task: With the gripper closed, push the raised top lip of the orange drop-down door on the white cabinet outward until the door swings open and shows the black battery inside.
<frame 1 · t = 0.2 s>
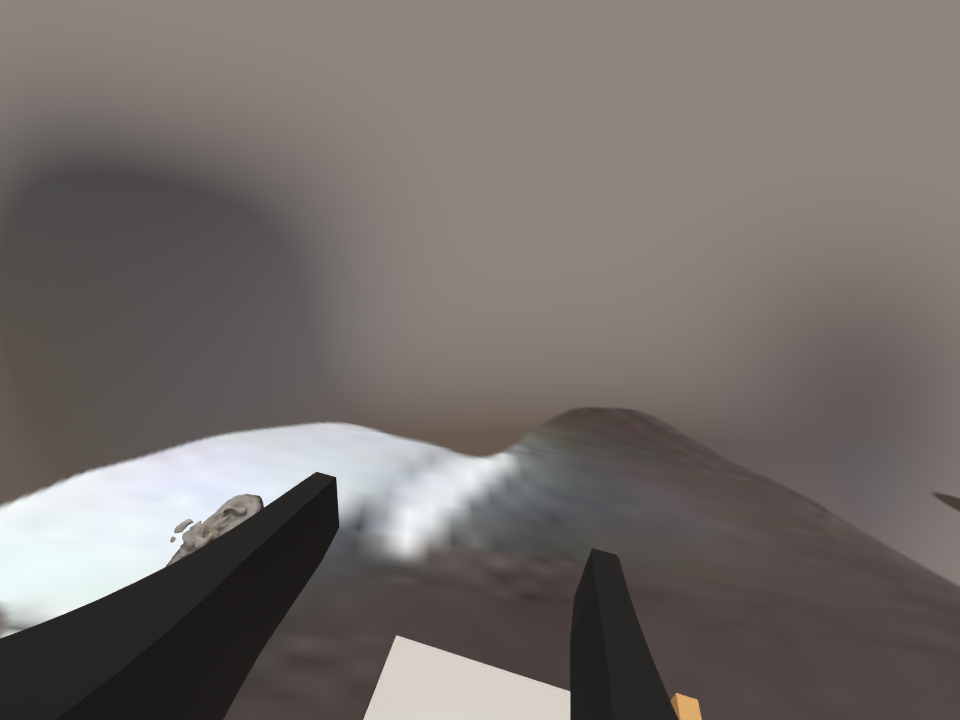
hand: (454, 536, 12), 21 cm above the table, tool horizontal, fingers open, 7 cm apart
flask: (225, 646, 28), on the table
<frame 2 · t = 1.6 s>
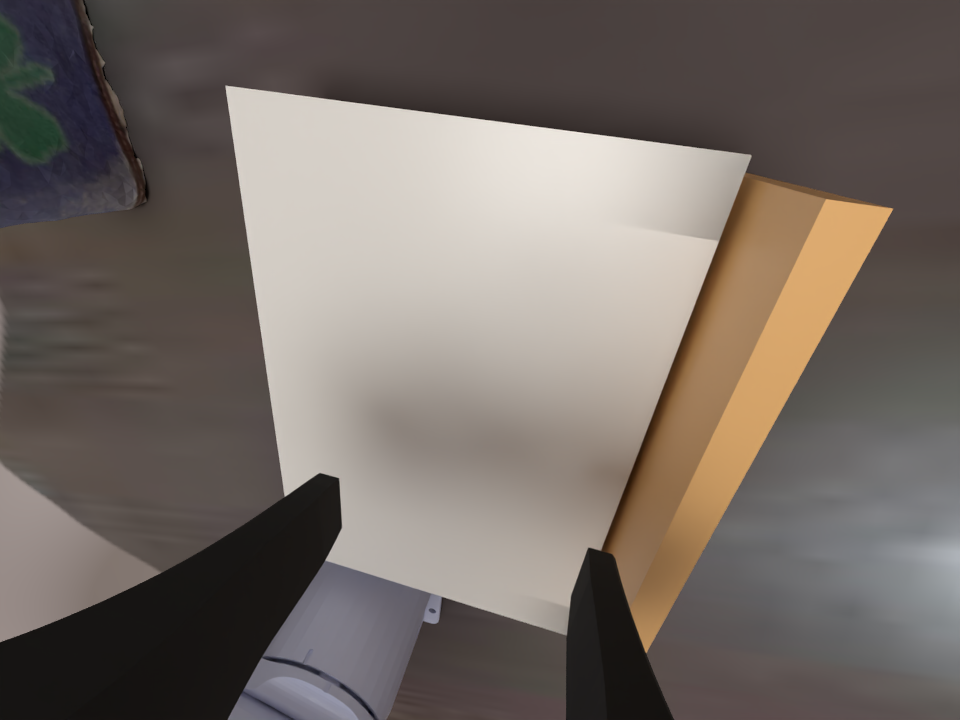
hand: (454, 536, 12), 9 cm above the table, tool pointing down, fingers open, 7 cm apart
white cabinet: (471, 364, 20), on the table
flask: (98, 95, 19), on the table
door: (652, 471, 15), point 5 cm above the table, hinge at 0.0°
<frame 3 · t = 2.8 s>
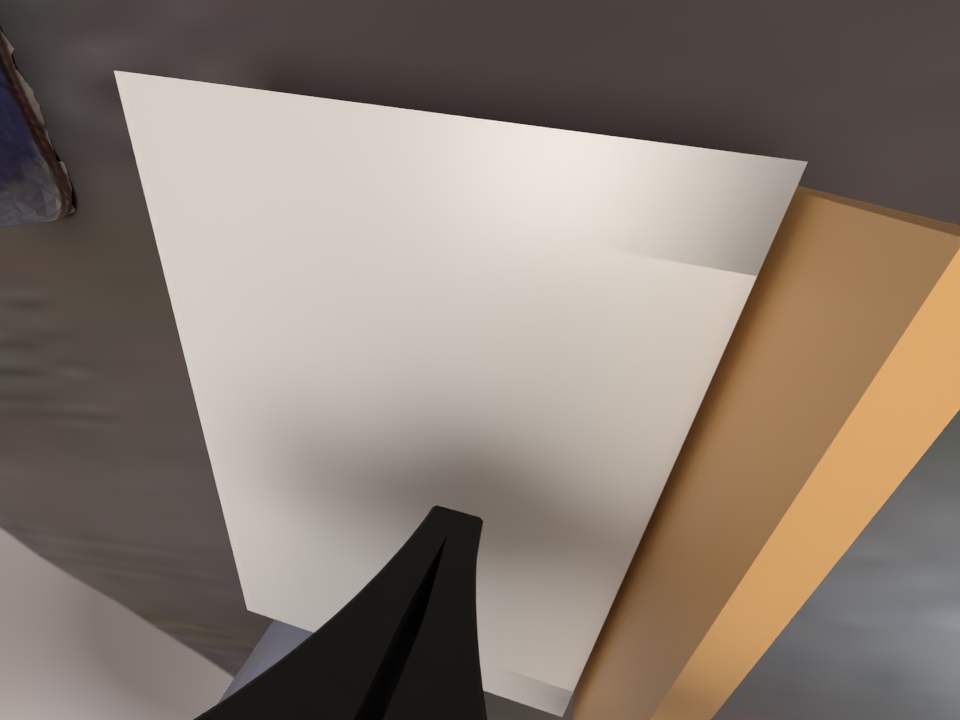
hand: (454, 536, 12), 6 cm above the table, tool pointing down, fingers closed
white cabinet: (450, 399, 17), on the table
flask: (12, 88, 16), on the table
door: (663, 546, 12), point 5 cm above the table, hinge at 0.0°
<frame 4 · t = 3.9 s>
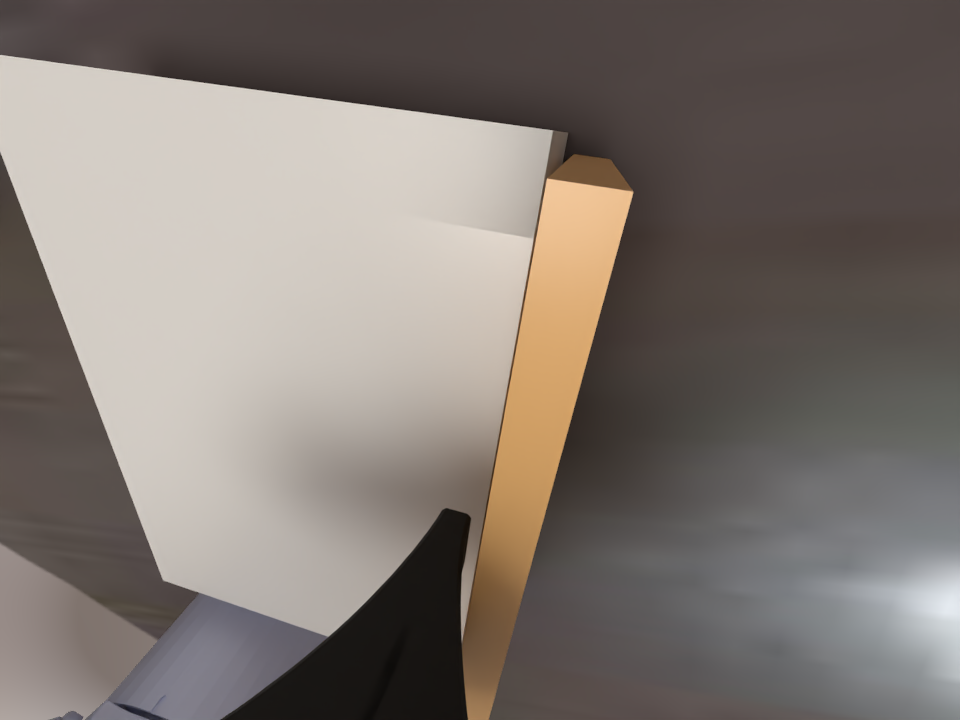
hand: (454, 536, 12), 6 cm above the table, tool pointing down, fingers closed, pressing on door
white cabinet: (351, 376, 18), on the table
door: (515, 506, 13), point 5 cm above the table, hinge at 0.4°, touching gripper
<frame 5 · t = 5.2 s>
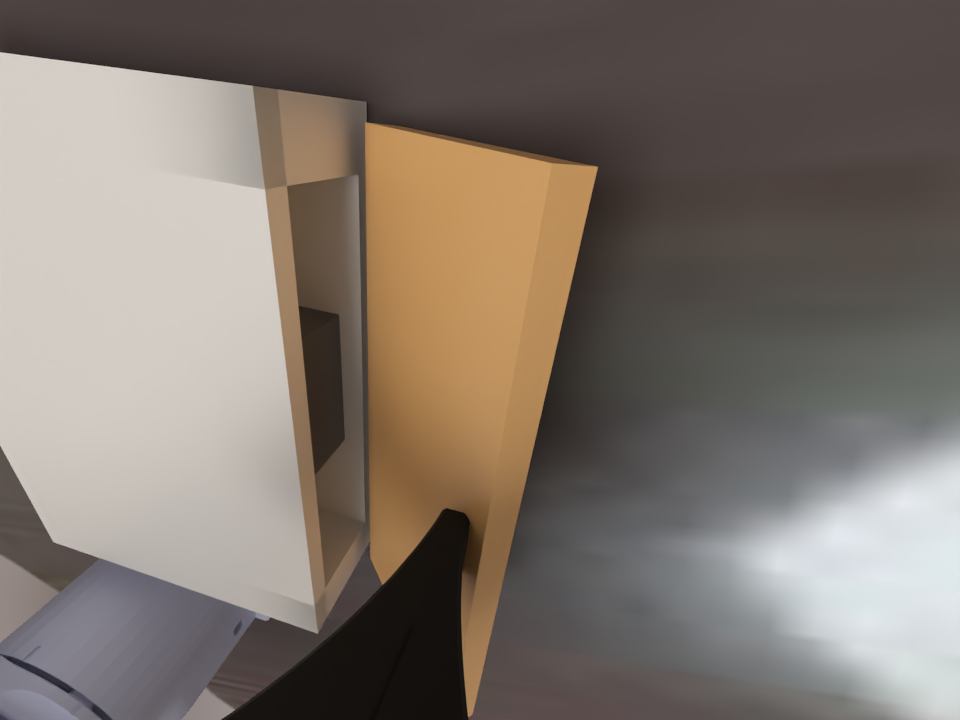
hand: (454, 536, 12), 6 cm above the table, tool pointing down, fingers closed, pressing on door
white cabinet: (222, 344, 19), on the table
door: (426, 461, 14), point 4 cm above the table, hinge at 46.8°, touching gripper
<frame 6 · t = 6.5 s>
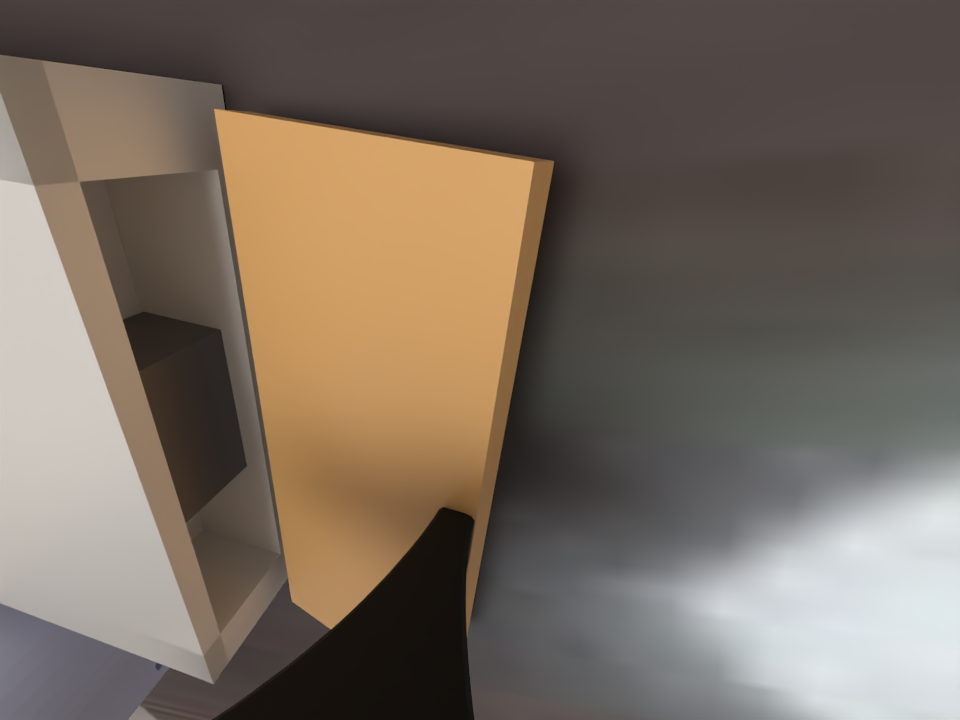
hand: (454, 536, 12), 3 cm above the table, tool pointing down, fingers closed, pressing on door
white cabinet: (111, 360, 17), on the table
door: (368, 473, 13), point 2 cm above the table, hinge at 75.8°, touching gripper
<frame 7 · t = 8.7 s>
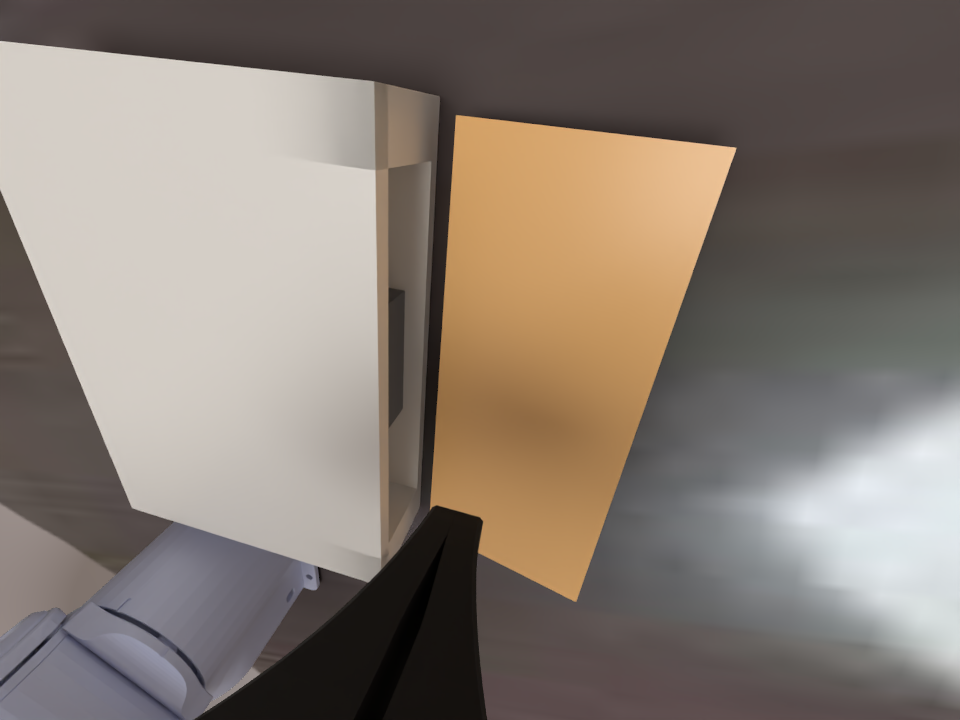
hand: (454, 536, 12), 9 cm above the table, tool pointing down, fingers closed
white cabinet: (290, 323, 21), on the table
door: (532, 399, 17), point 2 cm above the table, hinge at 77.7°
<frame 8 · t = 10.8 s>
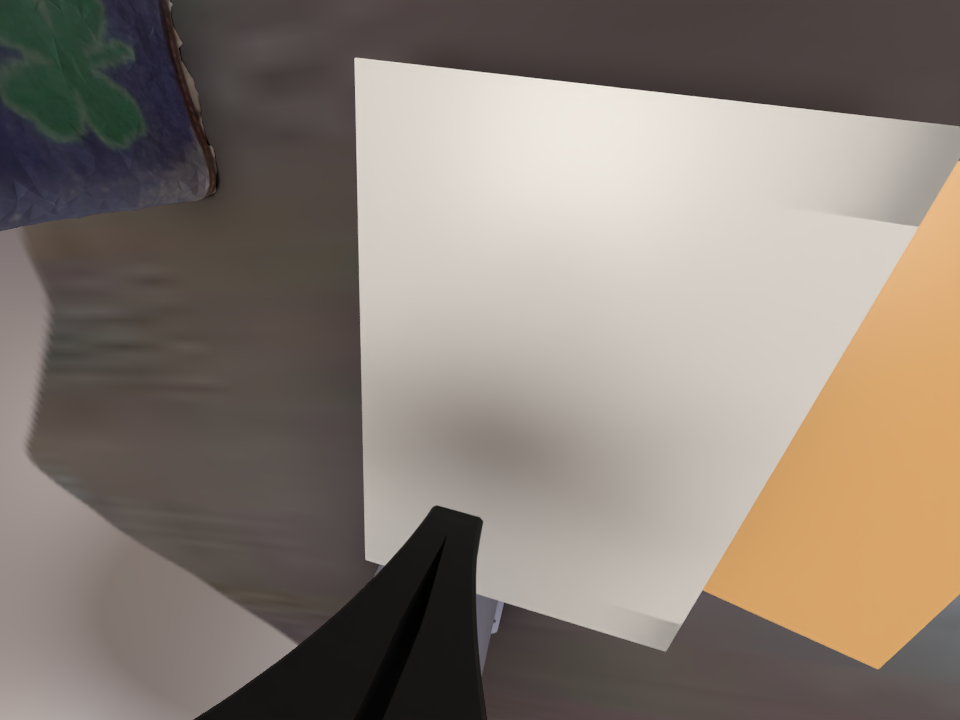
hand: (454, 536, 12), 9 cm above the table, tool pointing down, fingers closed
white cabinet: (560, 363, 19), on the table
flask: (171, 78, 18), on the table
door: (888, 459, 16), point 2 cm above the table, hinge at 77.7°
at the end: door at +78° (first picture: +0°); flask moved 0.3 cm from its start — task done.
